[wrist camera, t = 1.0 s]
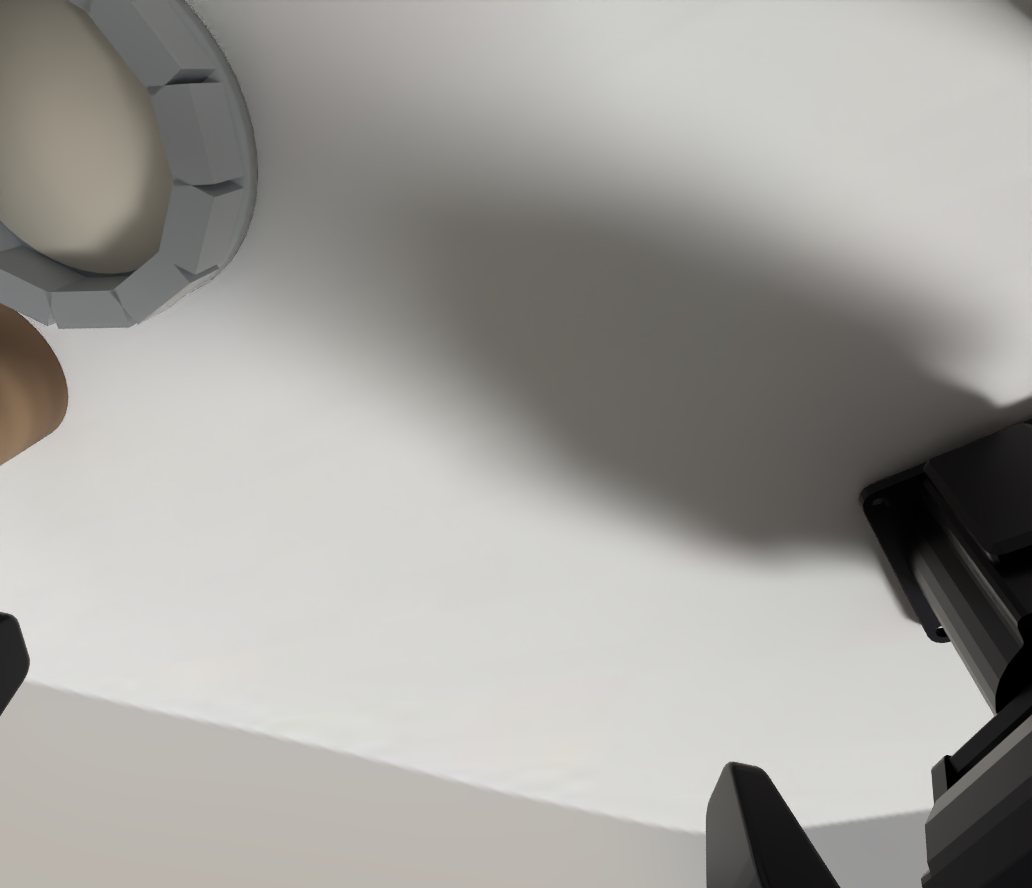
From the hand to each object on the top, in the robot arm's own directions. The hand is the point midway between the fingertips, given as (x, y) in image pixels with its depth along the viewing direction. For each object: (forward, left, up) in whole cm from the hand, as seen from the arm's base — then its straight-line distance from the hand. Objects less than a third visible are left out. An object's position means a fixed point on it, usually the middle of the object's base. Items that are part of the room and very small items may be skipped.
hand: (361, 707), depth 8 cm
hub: (+11, +6, -13) cm, 18 cm away
